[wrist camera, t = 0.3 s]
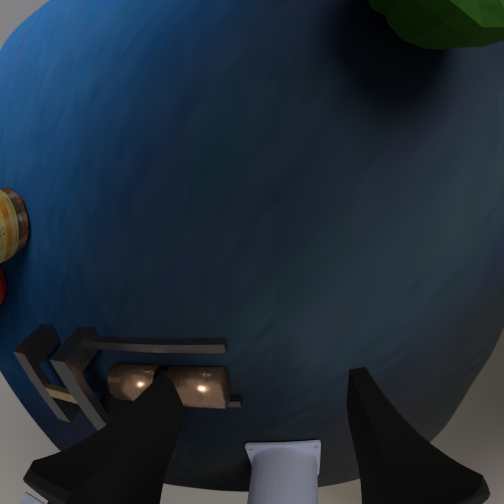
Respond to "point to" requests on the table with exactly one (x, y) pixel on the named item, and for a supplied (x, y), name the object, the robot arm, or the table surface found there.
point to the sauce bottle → (12, 224)
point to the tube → (184, 378)
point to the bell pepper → (444, 21)
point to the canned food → (2, 286)
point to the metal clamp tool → (79, 356)
